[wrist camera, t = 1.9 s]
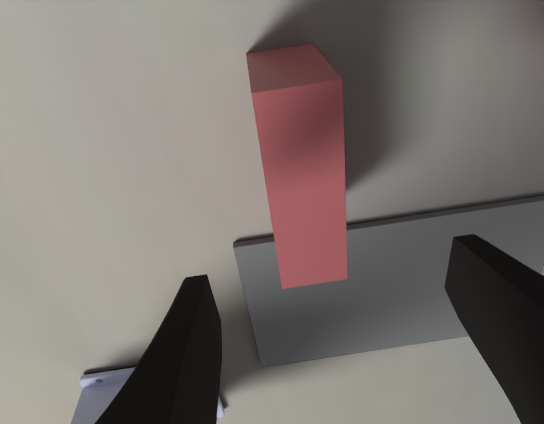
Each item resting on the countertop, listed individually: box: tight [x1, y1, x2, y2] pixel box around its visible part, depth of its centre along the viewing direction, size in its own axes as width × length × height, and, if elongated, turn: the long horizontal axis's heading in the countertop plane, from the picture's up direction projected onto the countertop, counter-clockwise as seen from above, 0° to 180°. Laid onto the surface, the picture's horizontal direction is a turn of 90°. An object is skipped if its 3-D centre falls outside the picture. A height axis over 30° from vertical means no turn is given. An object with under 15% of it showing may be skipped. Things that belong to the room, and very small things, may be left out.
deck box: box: [246, 43, 347, 289], centre depth 18 cm, size 3×9×6 cm, turn 7°
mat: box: [233, 195, 544, 367], centre depth 26 cm, size 20×12×1 cm, turn 97°
